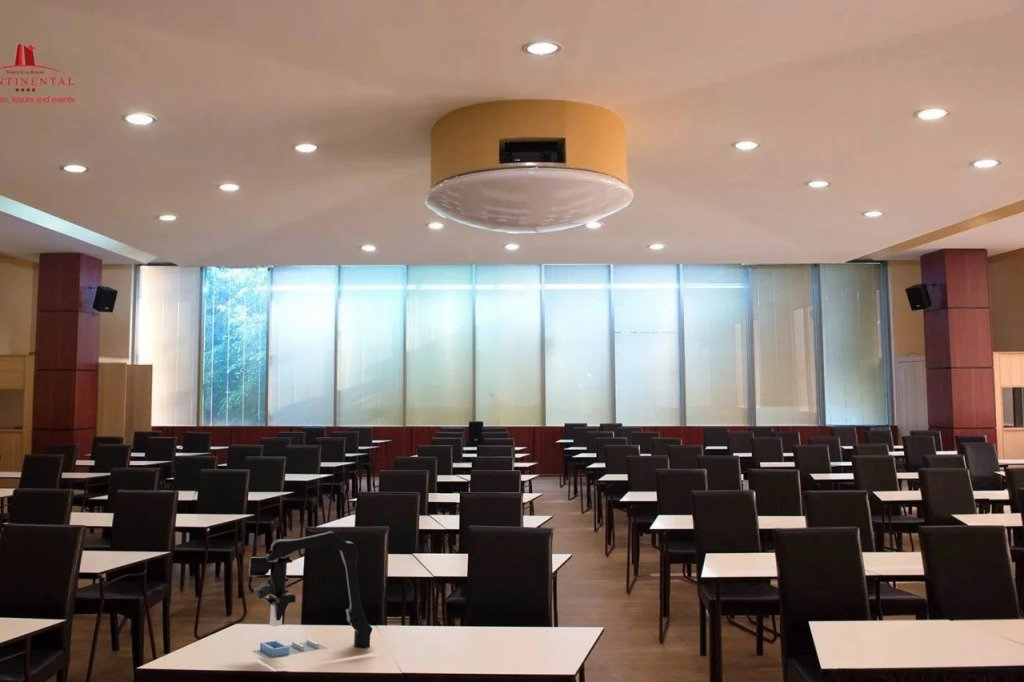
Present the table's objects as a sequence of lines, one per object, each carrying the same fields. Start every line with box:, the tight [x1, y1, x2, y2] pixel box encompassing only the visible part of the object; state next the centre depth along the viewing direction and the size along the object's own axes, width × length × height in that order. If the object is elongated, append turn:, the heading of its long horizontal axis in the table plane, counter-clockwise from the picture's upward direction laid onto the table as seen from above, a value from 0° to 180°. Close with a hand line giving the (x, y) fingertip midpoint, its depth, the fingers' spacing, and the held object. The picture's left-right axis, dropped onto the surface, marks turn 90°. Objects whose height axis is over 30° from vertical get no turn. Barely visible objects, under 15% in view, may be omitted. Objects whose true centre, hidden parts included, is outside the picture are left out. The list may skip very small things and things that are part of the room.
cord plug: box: [269, 604, 283, 627], centre depth 307 cm, size 3×3×8 cm
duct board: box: [252, 638, 327, 659], centre depth 309 cm, size 12×24×4 cm, turn 129°
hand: (276, 619), depth 307 cm, fingers closed on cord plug, 3 cm apart
